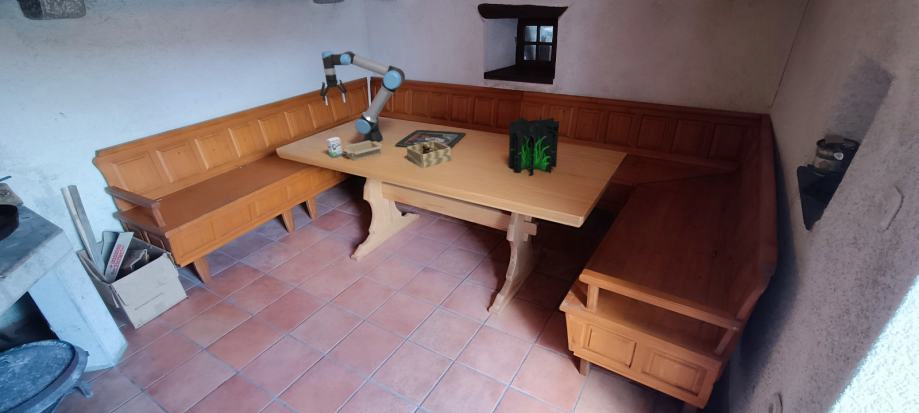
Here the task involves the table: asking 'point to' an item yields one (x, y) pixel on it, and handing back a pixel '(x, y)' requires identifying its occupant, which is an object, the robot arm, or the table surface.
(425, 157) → the box
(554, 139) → the decorative plant
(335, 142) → the ink box
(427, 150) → the bear figurine
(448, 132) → the religious icon
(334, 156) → the mat
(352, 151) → the carton
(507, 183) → the table surface
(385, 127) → the table surface
